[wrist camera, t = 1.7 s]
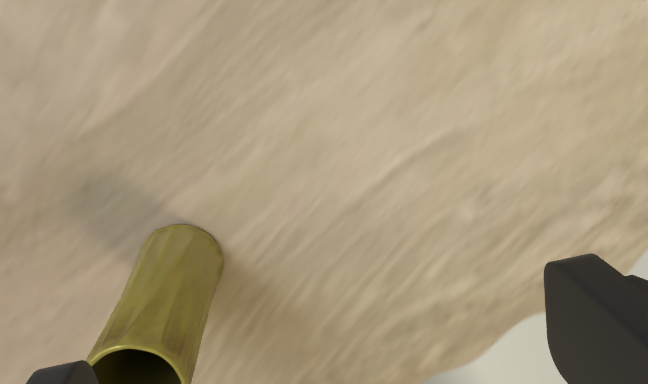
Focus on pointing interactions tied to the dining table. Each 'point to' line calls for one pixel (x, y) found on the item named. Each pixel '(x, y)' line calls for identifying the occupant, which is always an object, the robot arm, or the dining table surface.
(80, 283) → the dining table surface
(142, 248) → the vase
